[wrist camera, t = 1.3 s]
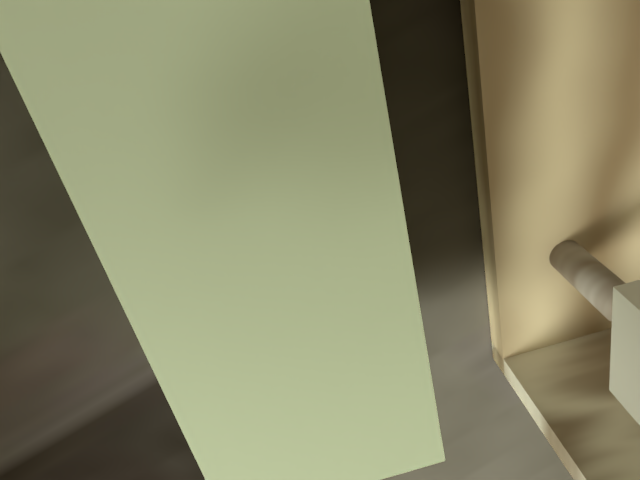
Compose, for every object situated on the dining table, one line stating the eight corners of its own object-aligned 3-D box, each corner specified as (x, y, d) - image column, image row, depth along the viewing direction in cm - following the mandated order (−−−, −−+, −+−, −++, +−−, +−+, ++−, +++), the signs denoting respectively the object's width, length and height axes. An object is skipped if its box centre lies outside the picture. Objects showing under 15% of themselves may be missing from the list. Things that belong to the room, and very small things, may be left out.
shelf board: (225, 472, 25) (226, 524, 22) (-36, -111, 14) (-83, -121, 12) (425, 415, 25) (445, 460, 23) (315, -197, 14) (332, -222, 12)
